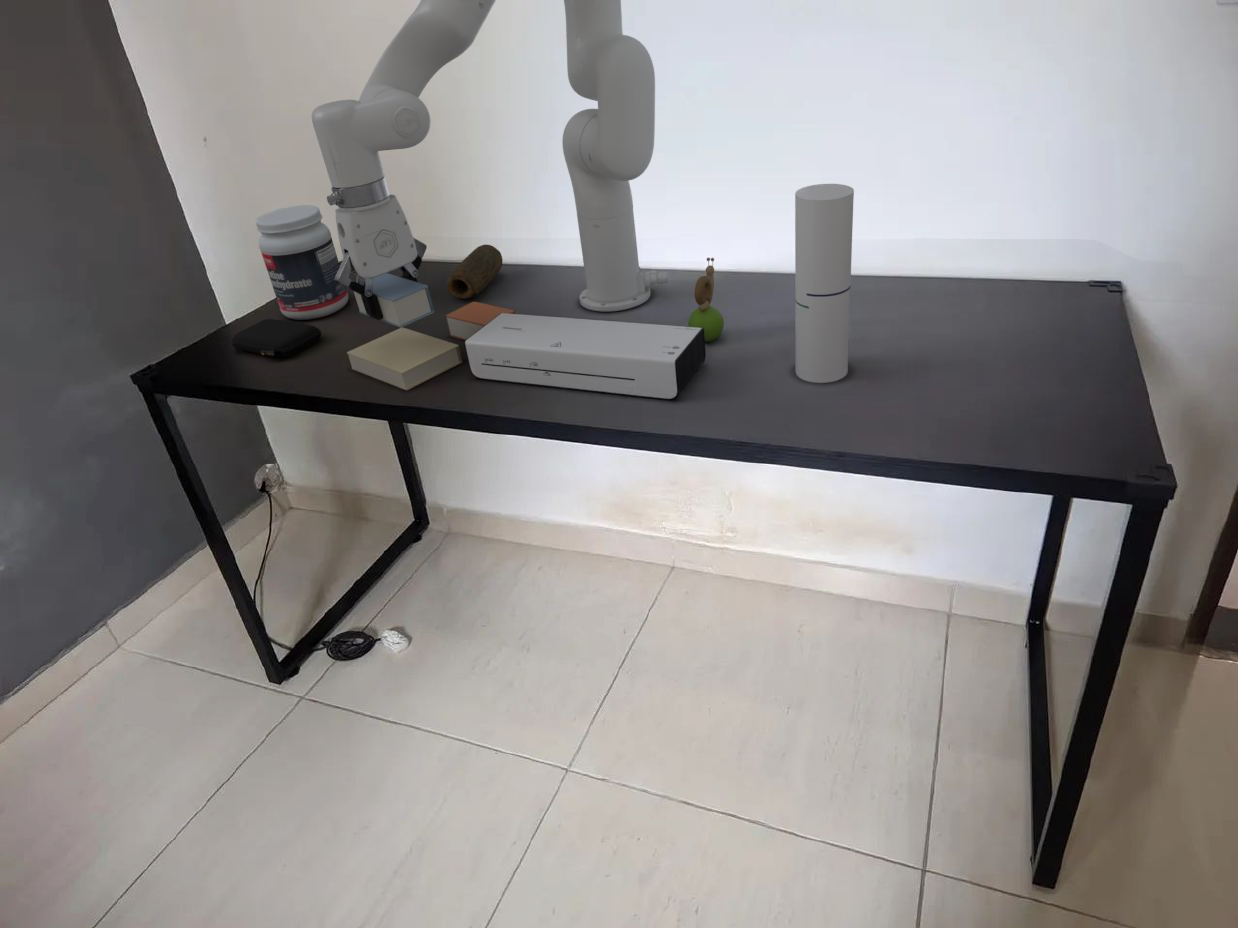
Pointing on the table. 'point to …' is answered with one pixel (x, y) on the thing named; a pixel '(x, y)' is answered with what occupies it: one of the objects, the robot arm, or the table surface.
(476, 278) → the brown vase
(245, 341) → the carrying case
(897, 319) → the table surface
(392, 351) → the cream hardcover
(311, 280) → the supplement tub
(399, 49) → the robot arm
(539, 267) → the table surface
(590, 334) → the laminator
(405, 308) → the grey blue book
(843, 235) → the cylindrical container
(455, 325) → the terracotta book
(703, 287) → the snail figurine
